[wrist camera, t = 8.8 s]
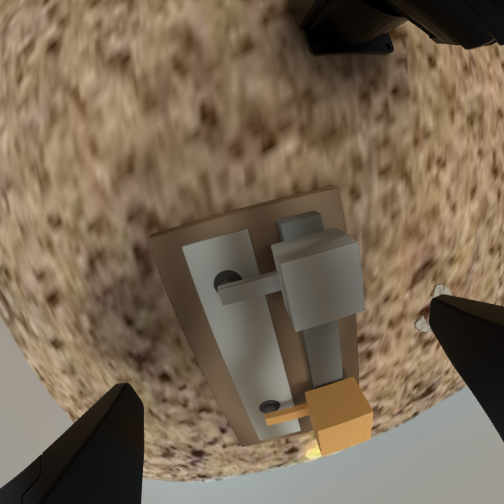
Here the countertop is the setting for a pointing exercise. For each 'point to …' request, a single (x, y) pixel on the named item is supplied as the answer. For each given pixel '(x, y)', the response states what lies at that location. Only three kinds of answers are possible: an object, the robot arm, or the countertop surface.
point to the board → (267, 304)
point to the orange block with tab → (331, 415)
